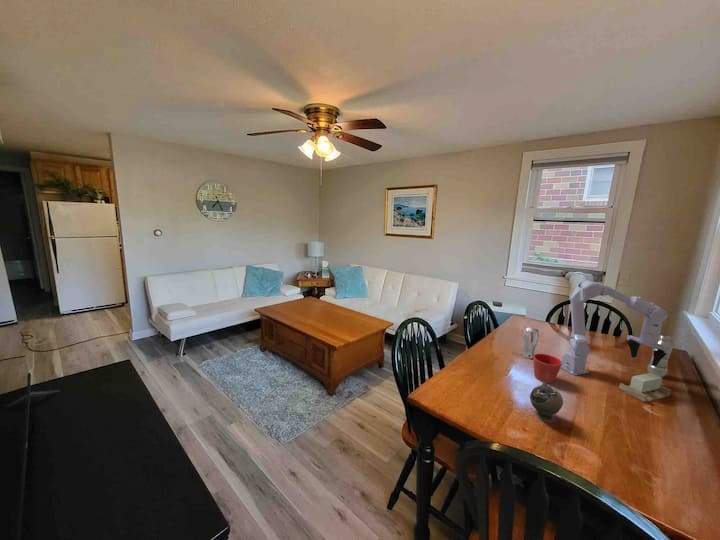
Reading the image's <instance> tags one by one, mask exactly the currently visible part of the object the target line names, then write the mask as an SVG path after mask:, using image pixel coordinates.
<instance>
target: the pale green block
mask: <svg viewBox="0 0 720 540" xmlns="http://www.w3.org/2000/svg"><path fill="white" fill-rule="evenodd" d="M662 380H663V377H660V376H658V375H655V374H653V373H649V372H647V373H643V374H638V375H634V376H631V380H630V384H629V386H630V387H631V388H633V389H635V390H637V391H639V392H641V393H642V392H646V391H651V390H655V389H659V388H660V385H661V386H662Z"/></svg>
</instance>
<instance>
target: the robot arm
mask: <svg viewBox="0 0 720 540" xmlns="http://www.w3.org/2000/svg"><path fill="white" fill-rule="evenodd" d="M599 296H601V297H605V296H609V297H611V298H614V299H616V300H618V301H621V302H622V303H625V306H626V308H628V309H630V310H633V311H634V312H637V313H638V314H641V315H644V317H643V322H642V326H641V331H640V336H639V337H638V336H635V335H629V334H628V335H627V337H626V340H628V341H627V344H628V347H629V350H630V357H631V358H636V357H637V355H638V351H639V349H640V346H641V345H643V346H646V347H648V348H651V349H653V348H654V349H657V350H656V351H653V350H652V352H654V358H653V362H652V365H653V366H657V364H658V363H659V361H660V360H661V359H662V358H663V357H664V356H665V355H666V354H668V353H670V351H671V349H670V348H667V347H665V346H663V345H660V344H658V340H659V335H660V334H661V331H662V328H663V327H662V326H663V322H664V321H665V320H667V319H668V317H669V316H668V314H667V311H666V310H665V309H663V308H662V307H660V306H658V305H656V303H654V302H649V301H647V300H644V297H642V296H636V295H634V296H629V295H626V294H624V293H622V292H620V291H618V290H616V289H614V288H612V287H610V286H608V285H606V284H603V283H600V282H596V281H593V280H592V279H584V280H582V281H580V282H579V283H577V285H576V288H575V289H574V291H573V293H572V294H570V297H569V299H570V314H571V331H572V332H571V334H570V339H569V342H568V344H569V346H570V347H569V349H568V351H567V353H564V354H563V356H562V360H561V362H562V365H561V367H560V369H562V370H564V371H566V372H568V373H570V374H572V375H574V376H578V375H583V374H588V373H590V371H589V370H587V369H586V364H587V359H588V355H589V354H590V352H591V347H590V346H589V343H588V339H587V335H586V322H585V321H586V319H585V303H586V302H587V301H588V300H590V299H594V298H597V297H599Z"/></svg>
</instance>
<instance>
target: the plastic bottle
mask: <svg viewBox="0 0 720 540" xmlns="http://www.w3.org/2000/svg"><path fill="white" fill-rule="evenodd" d="M671 340H672V336H670V335H668V334H664V333H660V335H659V339H658V344H660V345H663V346H665V347H667V348H670V349H671V351H670V353H668V354H666V355H665V356H664V357H663V358H662V359H661V360H660V361H659V363H658V364H657V366H653V365H652V362H653V358H654V352H653V351H656V350H657V349H654V348H652V353H651V354H652V355H651V359H650V361H649V363H648V364H647V373H653V374H655V375H658V376H660V377H662V378H664V377H666V376H667V374H668V363H669V362H668V361H669V359H670V356H671V353H672V351H673V349H674V348H673V344H672V343H671V342H670V341H671Z"/></svg>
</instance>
